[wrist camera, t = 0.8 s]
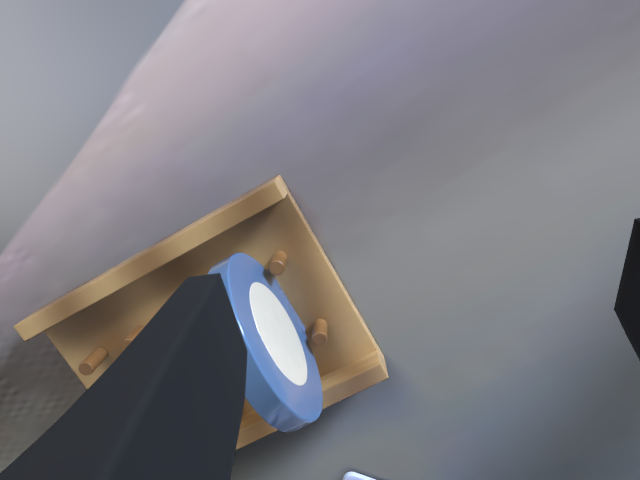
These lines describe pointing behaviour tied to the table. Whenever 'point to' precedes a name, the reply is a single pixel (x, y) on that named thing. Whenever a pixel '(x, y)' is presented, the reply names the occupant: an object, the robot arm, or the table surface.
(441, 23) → the table surface
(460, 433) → the table surface
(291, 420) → the plate
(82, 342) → the rack
